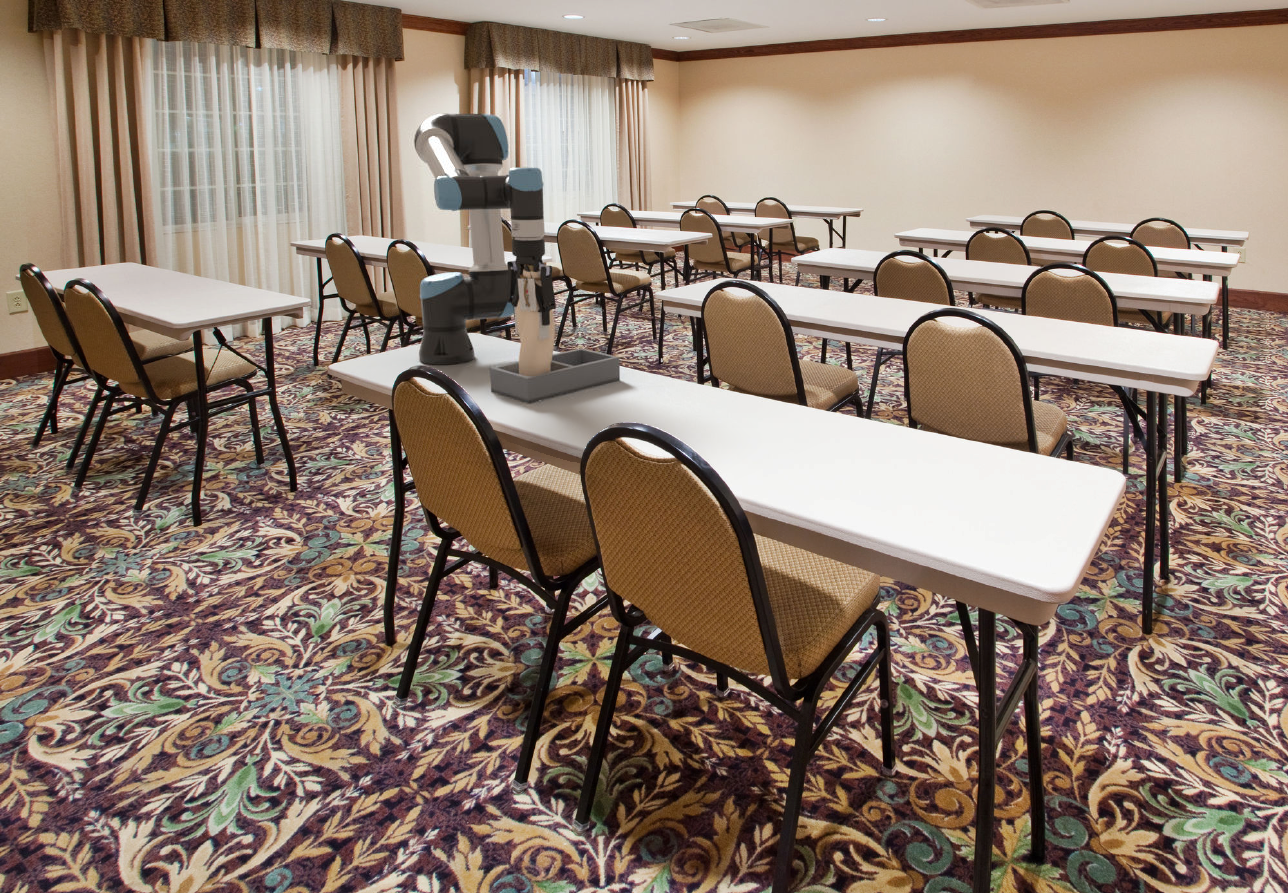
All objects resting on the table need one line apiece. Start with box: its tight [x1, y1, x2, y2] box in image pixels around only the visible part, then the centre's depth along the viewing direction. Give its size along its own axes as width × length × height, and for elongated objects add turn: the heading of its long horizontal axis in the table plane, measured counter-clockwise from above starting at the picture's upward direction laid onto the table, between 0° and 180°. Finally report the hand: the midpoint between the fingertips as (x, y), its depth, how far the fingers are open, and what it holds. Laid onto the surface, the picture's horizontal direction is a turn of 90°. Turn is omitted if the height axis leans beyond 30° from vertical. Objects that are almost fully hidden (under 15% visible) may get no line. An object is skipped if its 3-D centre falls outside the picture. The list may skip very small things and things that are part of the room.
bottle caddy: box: [489, 347, 621, 405], centre depth 210 cm, size 14×30×6 cm, turn 136°
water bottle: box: [516, 262, 556, 377], centre depth 200 cm, size 10×9×28 cm
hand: (532, 335), depth 202 cm, fingers closed on water bottle, 8 cm apart
